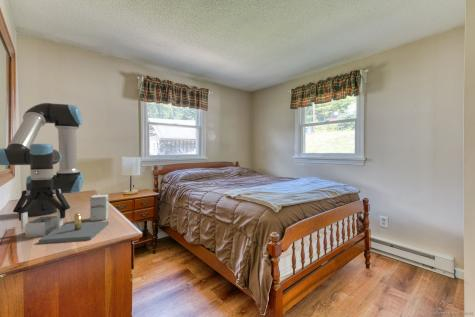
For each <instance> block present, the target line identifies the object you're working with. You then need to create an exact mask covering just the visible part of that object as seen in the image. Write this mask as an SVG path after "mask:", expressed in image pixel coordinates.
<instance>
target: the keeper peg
mask: <svg viewBox="0 0 475 317" xmlns="http://www.w3.org/2000/svg"><path fill="white" fill-rule="evenodd" d="M73 219H74V222H73V223H74V224H75V230H81V223H82V215H81V213H75V214H74V218H73Z"/></svg>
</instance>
